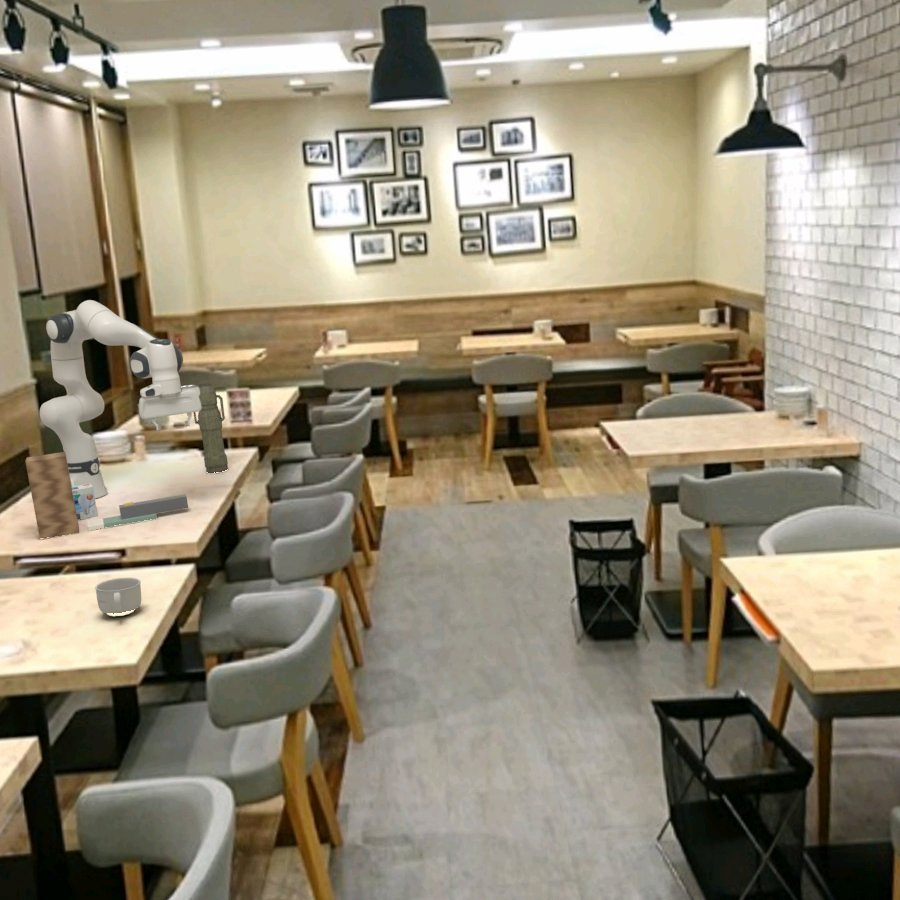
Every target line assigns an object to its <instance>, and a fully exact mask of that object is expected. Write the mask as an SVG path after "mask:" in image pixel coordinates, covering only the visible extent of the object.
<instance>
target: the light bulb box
mask: <svg viewBox="0 0 900 900" xmlns="http://www.w3.org/2000/svg"><path fill="white" fill-rule="evenodd" d="M72 492H73V498H74V503H75V509H76V515H77V520H78V521H81V520H86V519H85V518H87V519H91V518H90V517H92V518H97V517H98V510H97V504H96V498H95V496H94V490H93V486H92V485H91V484H85V485H79V486H74V487H72ZM96 516H97V517H96ZM80 519H81V520H80Z"/></svg>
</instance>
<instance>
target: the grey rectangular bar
mask: <svg viewBox="0 0 900 900" xmlns="http://www.w3.org/2000/svg"><path fill="white" fill-rule="evenodd" d="M118 507H119V514H120V515H121V520H122V519H128V518H133V517H139V516H145V515H151V514H156V515H157V514H162V513H167V512H172V511H179V510H183V509H184V510H185V509H189V503H188V498H187V494H186V493H183V494H179V495H173V496H167V497H160V498H154V499H150V500H149V499H147V500H143V501H138V502H133V501H129V502H123V504H120V505H118ZM120 515H119V516H120Z"/></svg>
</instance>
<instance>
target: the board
mask: <svg viewBox="0 0 900 900" xmlns="http://www.w3.org/2000/svg"><path fill="white" fill-rule="evenodd" d="M156 518H157V519H158V515H157V513H156V514H151V515H145V516H139V517H133V518H128V519H122V520H121V515H115V516H110V517H103V518H97V519H92V520H87V521H86V522H87V523H86V524H87V529H88V532H91V531H90V530H93V531H96V530H95V529H99V530H101V529H100V528H104V529H106V528H105V527H110V526H114V525H119V524H127V523H132V522H138V521H144V520H150V519H155V520H157V519H156ZM150 521H151V520H150ZM144 522H145V521H144ZM138 523H139V522H138ZM127 525H128V524H127ZM110 528H111V527H110Z"/></svg>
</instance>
